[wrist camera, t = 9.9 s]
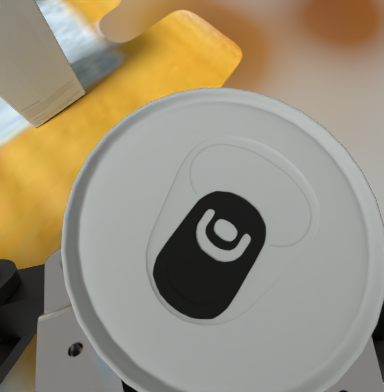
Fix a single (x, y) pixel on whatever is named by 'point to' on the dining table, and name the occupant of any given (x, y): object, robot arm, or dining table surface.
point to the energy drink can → (223, 247)
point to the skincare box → (33, 64)
